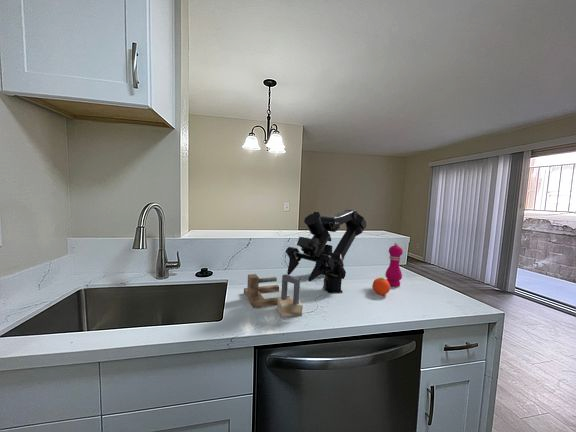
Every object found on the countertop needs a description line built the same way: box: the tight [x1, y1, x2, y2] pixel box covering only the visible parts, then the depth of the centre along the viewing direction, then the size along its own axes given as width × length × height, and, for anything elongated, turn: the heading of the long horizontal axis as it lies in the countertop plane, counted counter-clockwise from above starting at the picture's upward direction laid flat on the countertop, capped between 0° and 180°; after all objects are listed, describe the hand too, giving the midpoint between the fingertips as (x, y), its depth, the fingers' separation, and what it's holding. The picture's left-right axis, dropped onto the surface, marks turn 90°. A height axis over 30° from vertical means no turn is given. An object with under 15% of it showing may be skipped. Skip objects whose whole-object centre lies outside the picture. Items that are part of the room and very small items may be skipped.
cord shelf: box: [243, 273, 291, 309], centre depth 97 cm, size 14×14×9 cm
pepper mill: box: [384, 241, 404, 288], centre depth 119 cm, size 7×7×20 cm
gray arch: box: [280, 273, 301, 305], centre depth 86 cm, size 2×6×8 cm, turn 50°
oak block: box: [276, 296, 304, 318], centre depth 87 cm, size 7×7×4 cm
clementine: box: [371, 277, 391, 296], centre depth 107 cm, size 8×7×7 cm
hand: (298, 277), depth 89 cm, fingers open, 9 cm apart
